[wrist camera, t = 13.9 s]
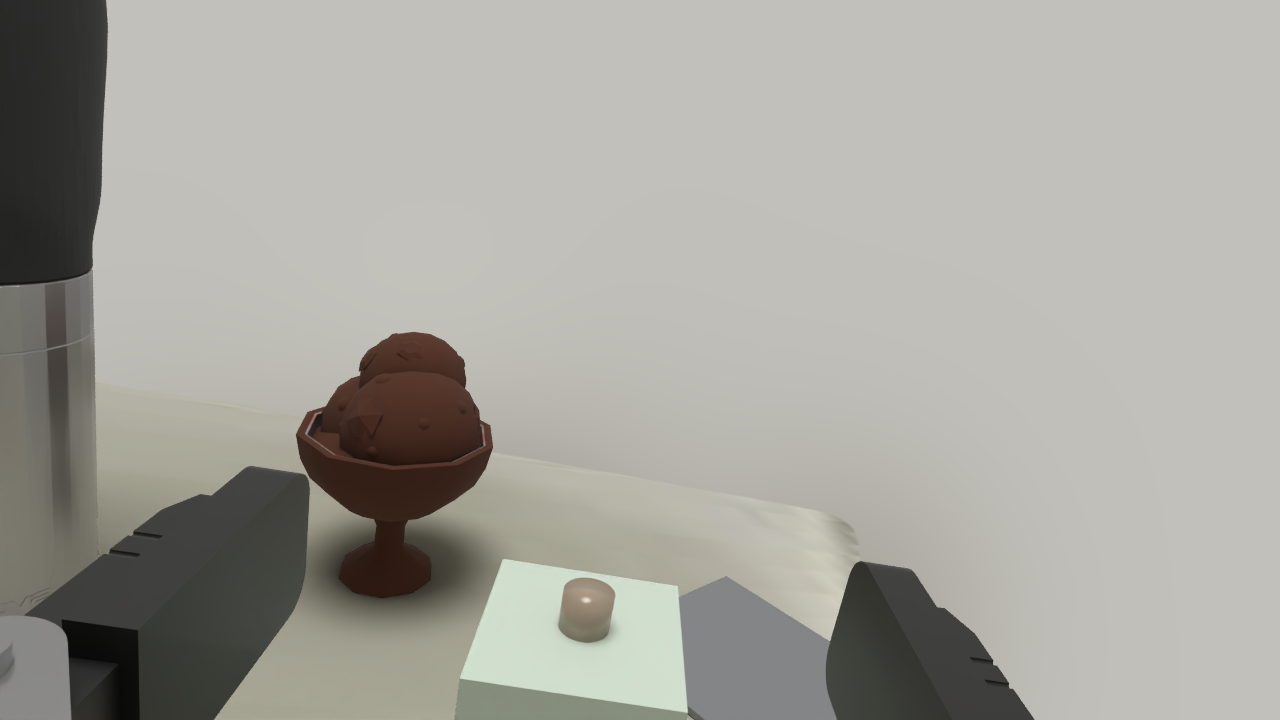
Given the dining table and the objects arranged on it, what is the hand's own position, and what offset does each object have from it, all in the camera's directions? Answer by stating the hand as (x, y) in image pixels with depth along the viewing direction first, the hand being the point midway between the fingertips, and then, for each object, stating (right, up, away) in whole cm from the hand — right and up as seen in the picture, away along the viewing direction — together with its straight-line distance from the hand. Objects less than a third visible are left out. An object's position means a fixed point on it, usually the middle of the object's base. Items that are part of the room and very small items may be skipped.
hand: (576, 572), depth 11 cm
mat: (+9, -15, +30) cm, 35 cm away
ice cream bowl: (-15, -10, +35) cm, 39 cm away
